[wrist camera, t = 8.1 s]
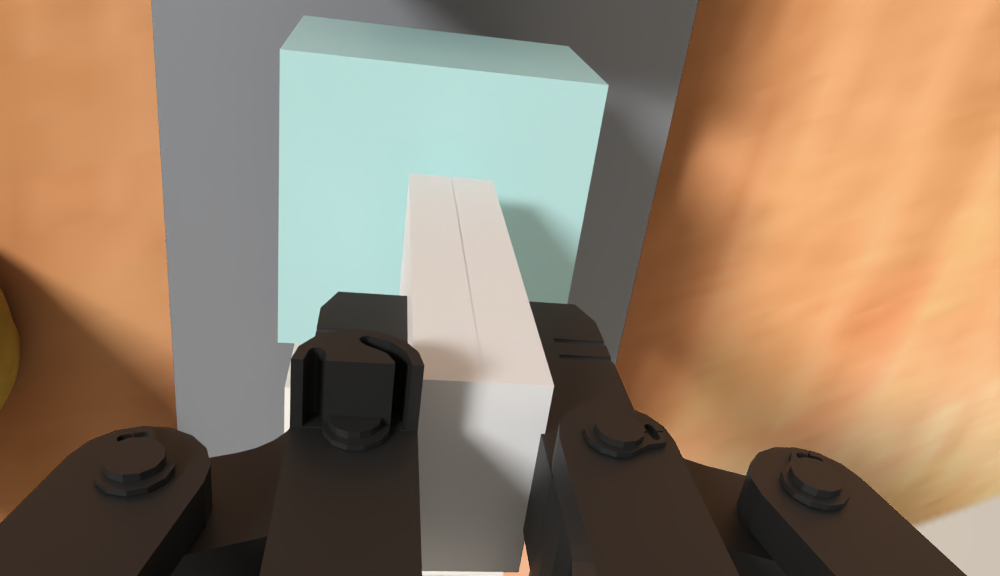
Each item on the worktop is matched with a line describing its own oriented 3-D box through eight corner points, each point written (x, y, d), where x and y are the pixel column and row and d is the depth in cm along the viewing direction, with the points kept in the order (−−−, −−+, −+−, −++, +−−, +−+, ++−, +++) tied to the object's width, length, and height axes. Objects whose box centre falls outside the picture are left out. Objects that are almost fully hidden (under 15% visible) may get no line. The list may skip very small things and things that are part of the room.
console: (194, 447, 28) (155, 557, 24) (145, -532, 17) (50, -687, 12) (574, 459, 30) (606, 561, 26) (759, -399, 19) (873, -487, 14)
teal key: (298, 261, 20) (277, 342, 17) (303, 15, 17) (279, 49, 14) (530, 277, 21) (556, 356, 18) (568, 46, 18) (608, 85, 15)
